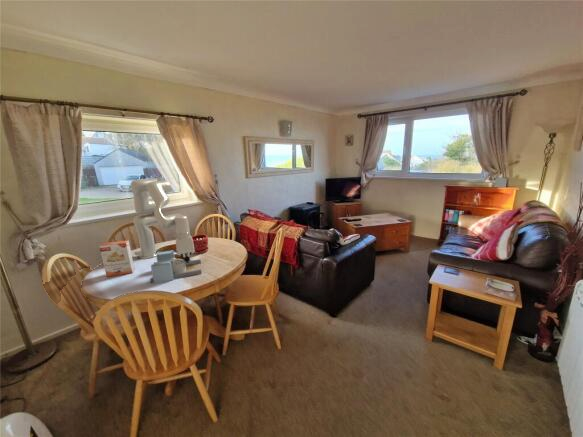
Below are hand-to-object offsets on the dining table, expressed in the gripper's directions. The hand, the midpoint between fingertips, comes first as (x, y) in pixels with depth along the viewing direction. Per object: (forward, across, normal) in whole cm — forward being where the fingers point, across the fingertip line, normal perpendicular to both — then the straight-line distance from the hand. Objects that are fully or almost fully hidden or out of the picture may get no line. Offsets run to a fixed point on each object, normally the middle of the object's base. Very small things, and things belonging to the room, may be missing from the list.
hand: (187, 262), depth 150 cm
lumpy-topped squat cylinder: (+6, -8, 0) cm, 10 cm away
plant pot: (+6, +8, +30) cm, 32 cm away
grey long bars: (+6, -6, 0) cm, 9 cm away
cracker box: (+6, -40, +14) cm, 43 cm away
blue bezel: (+6, -13, 0) cm, 15 cm away
